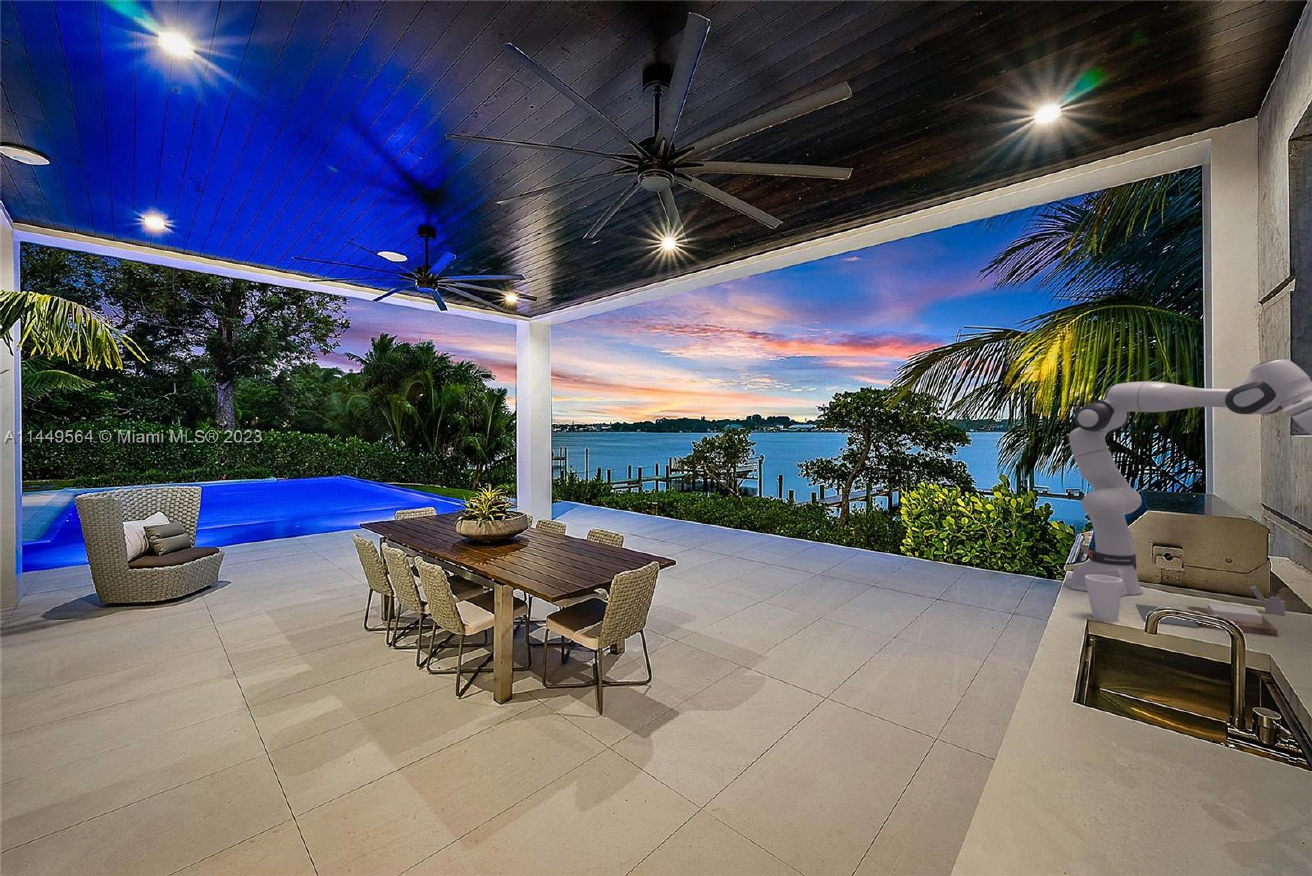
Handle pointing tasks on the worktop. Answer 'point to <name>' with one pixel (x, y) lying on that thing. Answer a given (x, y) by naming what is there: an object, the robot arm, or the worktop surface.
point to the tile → (1235, 613)
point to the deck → (1243, 624)
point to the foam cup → (1104, 596)
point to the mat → (1168, 620)
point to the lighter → (1270, 603)
